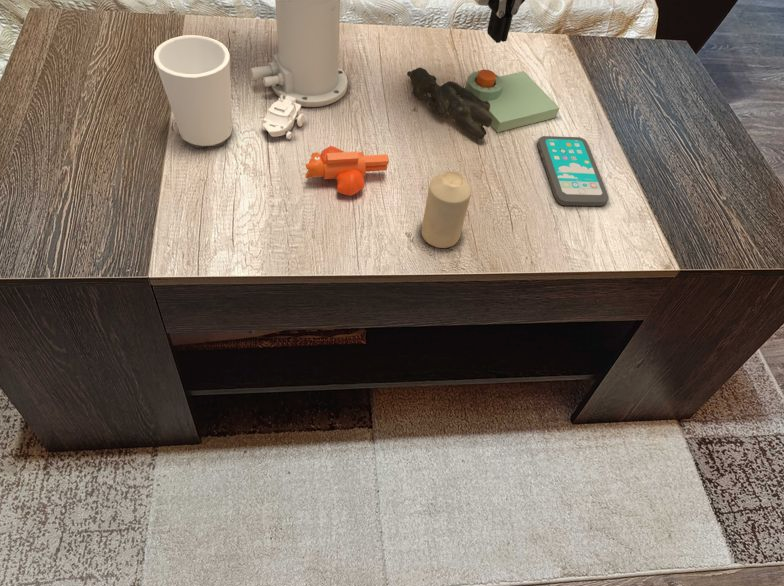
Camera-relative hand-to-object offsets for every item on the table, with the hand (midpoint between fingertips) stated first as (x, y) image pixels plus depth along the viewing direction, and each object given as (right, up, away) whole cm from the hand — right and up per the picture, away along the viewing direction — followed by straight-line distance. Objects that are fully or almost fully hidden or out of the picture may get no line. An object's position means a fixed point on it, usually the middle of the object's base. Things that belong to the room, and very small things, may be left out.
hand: (496, 37), depth 96 cm
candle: (-9, -33, -9) cm, 35 cm away
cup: (-44, -16, -3) cm, 47 cm away
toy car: (-33, -14, 0) cm, 36 cm away
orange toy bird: (-23, -25, -6) cm, 34 cm away
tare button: (-1, -4, +7) cm, 8 cm away
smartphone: (+12, -21, +1) cm, 24 cm away
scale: (+4, -7, +9) cm, 12 cm away
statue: (-9, -8, +2) cm, 12 cm away
